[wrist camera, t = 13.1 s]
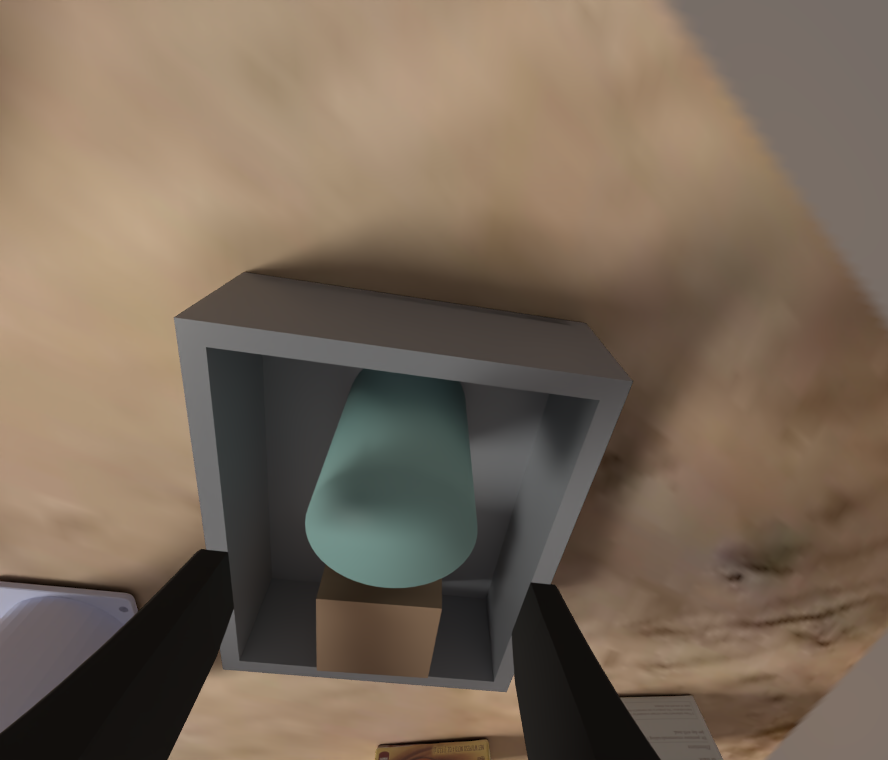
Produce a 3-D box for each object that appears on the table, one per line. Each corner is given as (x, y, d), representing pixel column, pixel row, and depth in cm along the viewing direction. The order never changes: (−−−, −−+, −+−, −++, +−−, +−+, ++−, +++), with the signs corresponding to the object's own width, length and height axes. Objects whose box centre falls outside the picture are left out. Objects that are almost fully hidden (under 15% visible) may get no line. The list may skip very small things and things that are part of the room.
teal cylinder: (481, 370, 18) (502, 488, 12) (446, 461, 21) (448, 600, 14) (362, 338, 18) (319, 446, 11) (339, 437, 20) (294, 571, 14)
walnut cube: (441, 515, 22) (441, 608, 18) (430, 581, 24) (427, 678, 20) (341, 506, 22) (315, 598, 17) (339, 574, 24) (316, 670, 20)
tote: (495, 599, 26) (506, 692, 22) (261, 576, 25) (222, 669, 21) (585, 323, 18) (633, 381, 14) (243, 271, 17) (173, 317, 12)
